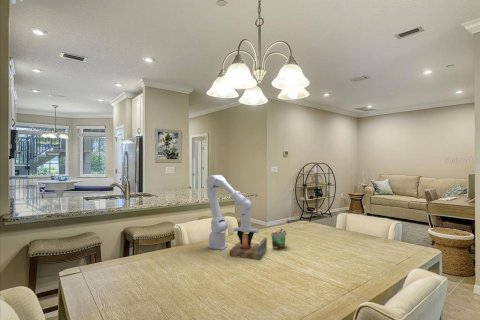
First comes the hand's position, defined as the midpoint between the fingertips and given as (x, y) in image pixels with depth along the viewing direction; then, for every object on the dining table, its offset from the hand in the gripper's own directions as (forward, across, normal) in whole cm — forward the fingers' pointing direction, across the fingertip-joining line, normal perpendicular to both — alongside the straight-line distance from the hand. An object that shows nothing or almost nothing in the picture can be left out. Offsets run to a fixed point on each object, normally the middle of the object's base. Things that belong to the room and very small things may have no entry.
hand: (245, 244), depth 152 cm
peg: (+3, 0, 0) cm, 3 cm away
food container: (+5, +18, +14) cm, 23 cm away
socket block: (+4, +2, 0) cm, 5 cm away
